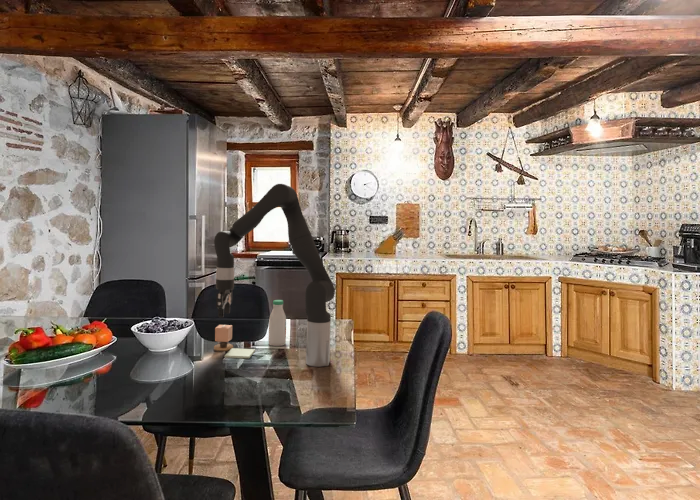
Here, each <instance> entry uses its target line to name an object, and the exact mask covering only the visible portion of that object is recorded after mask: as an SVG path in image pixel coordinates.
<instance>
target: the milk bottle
mask: <svg viewBox="0 0 700 500" xmlns="http://www.w3.org/2000/svg"><path fill="white" fill-rule="evenodd" d="M272 306H273V308H272V311H271V313H270V315H269V321H268V345H269V346H272V347H280V346H284V345H286V342H287V341H286V340H287V317H286V313H285V311H284V300H283V299H275V300H273V301H272Z"/></svg>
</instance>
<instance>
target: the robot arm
mask: <svg viewBox="0 0 700 500" xmlns="http://www.w3.org/2000/svg"><path fill="white" fill-rule="evenodd" d="M278 207H280V209H281V210H282V212H283V214H284V216H285V218H286V222H287V236H288V241H289V244H290V247H291V248H292V251H293V254H294V256H295V257H296V258H297V260H298V262H300V263H301V265H302V266H304V268H305V269H306V270H307V272H308V274H309V276H310V280H311V282H309V283H308V284H307V285H306V288H305V292H304V293H305V294H304V296H305V297H304V299H305V301H304V302H305V303H304V305H305V306H304V307H305V315H306V316H307V317H306V318H307V319H306V321H307V322H306V349H305V363H306V365H307V366H310V367H315V368H316V367H319V368H320V367H329V365H330V359H331V358H330V356H331V354H330V353H331V322H332V321H331V318H332V317H331V316H332V315H331V313H330V312H328V311H327V303H328V302H331V301H332V300H334V297H335V294H336V293H335V292H336V291H335V290H336V289H335V286H334V283H333V282H332V279H331V278H330V275H329V273H328V271H327V270H326V268H325V266H324V264H323V260H322V257H321V256H320V253H319V251H318V248H317V245H316V243H315V240H314V238H313V235H312V233H311V231H310V229H309V225H308V223H307V221H306V219H305V217H304V215H303V211H302V209H301V208H302V207H301V204H300V201H299V196H298V194H297V192H296V190H295V188H293V187H292V186H289V185H287V184H284V183H277V184H274V185H273V186H272V187H271V188H270V189H269V190H268V191H267V192H266V194H264V196H263V197H262V198H261V199H260V200H259V201H258V202H256V204H255V205H253V207H252V208H251V209H249V210H248V211H247V212H245V213H244V214H243V215H242V216H240V217H239V218H238V219H237V220H235V221H234V222H233V223H232V227H231V228H230V229H228V230H224V231H223V230H221V231H217V233H216V234H215V236H214V240H213V241H214V242H213V243H214V244H213V245H214V250H215V255H216V269H215V270H216V271H215V289H216V290H218V291H219V293H216V297H215V302H216V303H215V309H217V318H219V319H222V318H224V316H225V315H224V314H230V313H231V304H232V303H233V290H234V289H235V256H234V254H233V253H231V248H232V247H234V246H236V245H237V244H238V243H240V242H241V240H242V239H244V237H245V236H247V234H249V233H250V232H251V231H252V230H255V228H257V227H258V226H259V225H260V223H261V222H262V221H263V219H264V218H265V216H266V215H268V214H269V213H271V212H272V211H273V210H274V209H276V208H278Z"/></svg>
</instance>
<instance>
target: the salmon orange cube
mask: <svg viewBox="0 0 700 500" xmlns="http://www.w3.org/2000/svg"><path fill="white" fill-rule="evenodd" d="M232 339H233V325H232V324H230V325H229V324H218V325H217V326H216V327H215V328H214V341H215V342H228V343H230V342H229V341H231V340H232Z"/></svg>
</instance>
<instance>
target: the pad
mask: <svg viewBox="0 0 700 500" xmlns="http://www.w3.org/2000/svg"><path fill="white" fill-rule="evenodd" d="M255 352H256V348H239V347H238V348H237V347H233V348H232V349H231V350H230V351H227V353H225V354H224V358H231V359H232V358H233V359H234V358H235V359H250V358H251V356H252V355H253V354H254V353H255Z"/></svg>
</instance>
